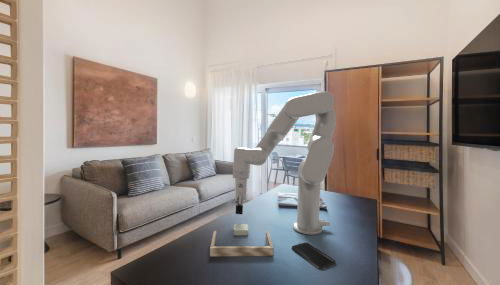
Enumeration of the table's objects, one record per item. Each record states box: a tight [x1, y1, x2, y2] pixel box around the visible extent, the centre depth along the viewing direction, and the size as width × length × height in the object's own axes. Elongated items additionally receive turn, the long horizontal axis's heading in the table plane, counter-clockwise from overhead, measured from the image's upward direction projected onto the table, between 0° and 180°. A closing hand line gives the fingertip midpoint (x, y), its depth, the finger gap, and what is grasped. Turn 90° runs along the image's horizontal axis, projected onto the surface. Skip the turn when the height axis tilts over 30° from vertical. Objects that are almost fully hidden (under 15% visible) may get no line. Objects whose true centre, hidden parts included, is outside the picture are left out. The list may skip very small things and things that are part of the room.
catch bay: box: [209, 230, 274, 257], centre depth 88 cm, size 22×14×3 cm, turn 93°
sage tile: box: [233, 223, 249, 236], centre depth 100 cm, size 6×6×2 cm
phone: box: [291, 242, 337, 270], centre depth 83 cm, size 8×1×15 cm
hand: (238, 213), depth 108 cm, fingers closed
